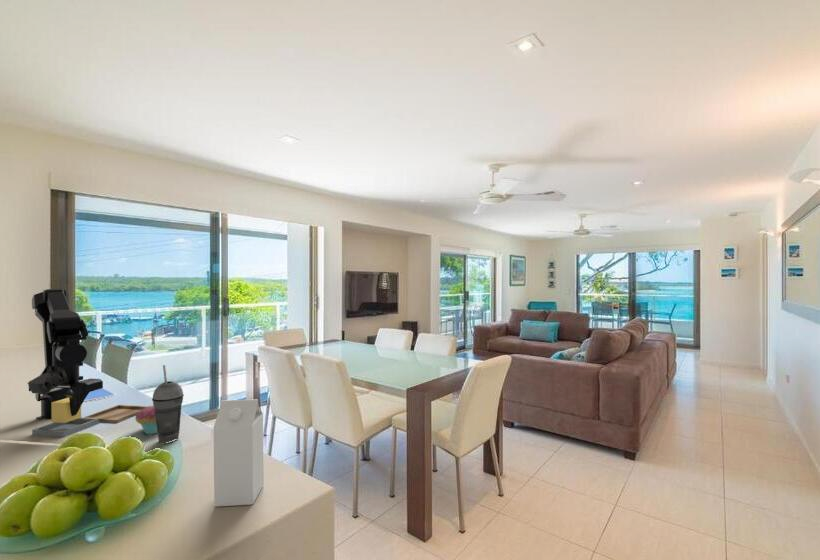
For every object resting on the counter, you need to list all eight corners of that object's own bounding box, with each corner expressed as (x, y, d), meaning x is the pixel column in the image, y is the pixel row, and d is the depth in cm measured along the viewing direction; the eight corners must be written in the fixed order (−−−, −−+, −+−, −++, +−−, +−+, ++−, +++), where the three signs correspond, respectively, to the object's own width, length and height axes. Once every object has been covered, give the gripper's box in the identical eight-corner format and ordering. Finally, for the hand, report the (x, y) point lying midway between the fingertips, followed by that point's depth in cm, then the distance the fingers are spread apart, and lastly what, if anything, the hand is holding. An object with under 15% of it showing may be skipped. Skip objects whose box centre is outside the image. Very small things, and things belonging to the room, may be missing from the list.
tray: (82, 422, 119) (82, 417, 119) (118, 409, 131) (118, 404, 131) (117, 424, 117) (117, 420, 117) (151, 410, 129) (151, 406, 129)
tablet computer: (58, 396, 148) (58, 393, 148) (100, 389, 158) (100, 385, 158) (73, 406, 136) (72, 402, 136) (116, 397, 146) (116, 394, 146)
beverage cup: (169, 447, 101) (168, 369, 101) (145, 444, 102) (144, 367, 102) (190, 435, 108) (189, 362, 108) (167, 433, 109) (167, 362, 109)
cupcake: (178, 427, 114) (178, 386, 114) (150, 438, 106) (150, 394, 106) (156, 424, 117) (156, 383, 117) (128, 435, 109) (127, 391, 109)
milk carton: (228, 487, 81) (227, 395, 81) (263, 485, 82) (262, 394, 81) (214, 507, 74) (212, 406, 74) (253, 505, 74) (252, 405, 74)
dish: (32, 437, 108) (32, 429, 108) (70, 423, 118) (69, 416, 118) (63, 439, 106) (63, 431, 106) (99, 425, 116) (99, 418, 116)
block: (51, 422, 110) (51, 402, 110) (68, 416, 115) (67, 397, 115) (65, 422, 110) (65, 403, 110) (81, 417, 114) (81, 398, 114)
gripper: (5, 365, 106) (6, 423, 106) (64, 367, 103) (65, 427, 103) (50, 357, 117) (50, 409, 117) (104, 359, 114) (104, 413, 114)
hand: (66, 415), depth 112 cm, fingers closed on block, 4 cm apart
